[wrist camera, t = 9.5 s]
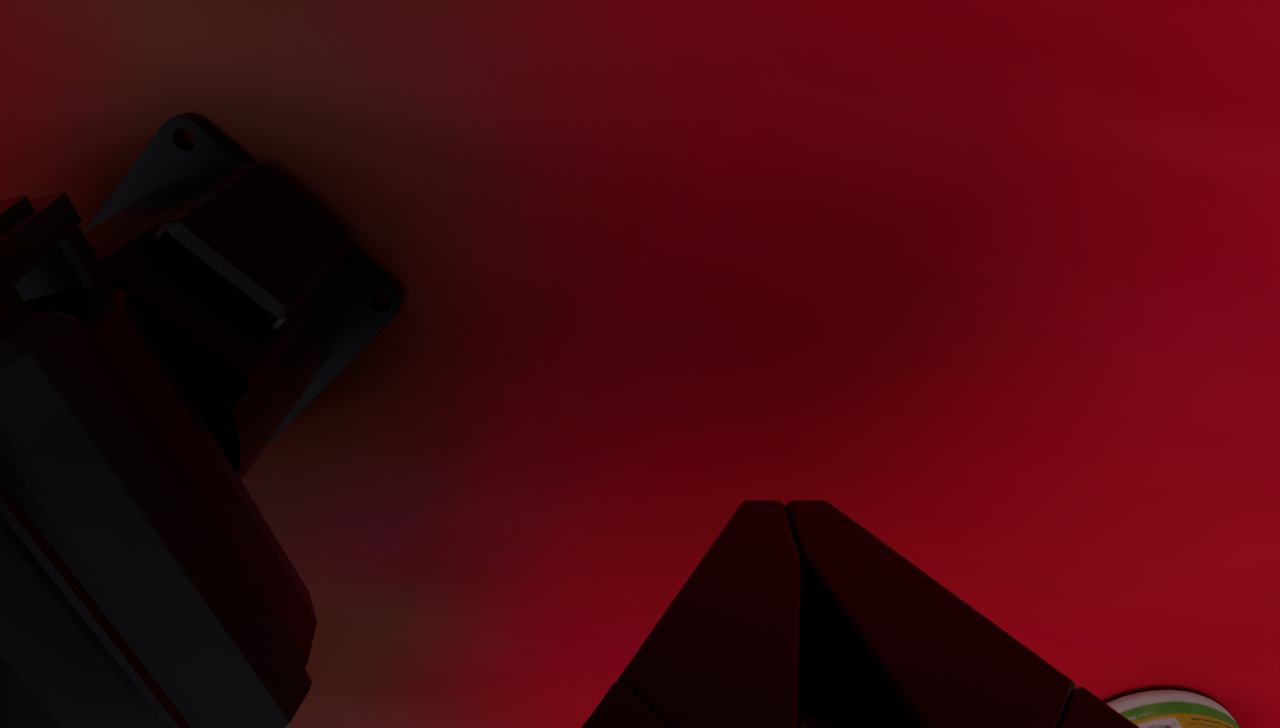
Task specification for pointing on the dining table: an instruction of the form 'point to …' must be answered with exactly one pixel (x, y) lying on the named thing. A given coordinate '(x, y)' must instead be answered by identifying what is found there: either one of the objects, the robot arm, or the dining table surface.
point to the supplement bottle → (1172, 710)
